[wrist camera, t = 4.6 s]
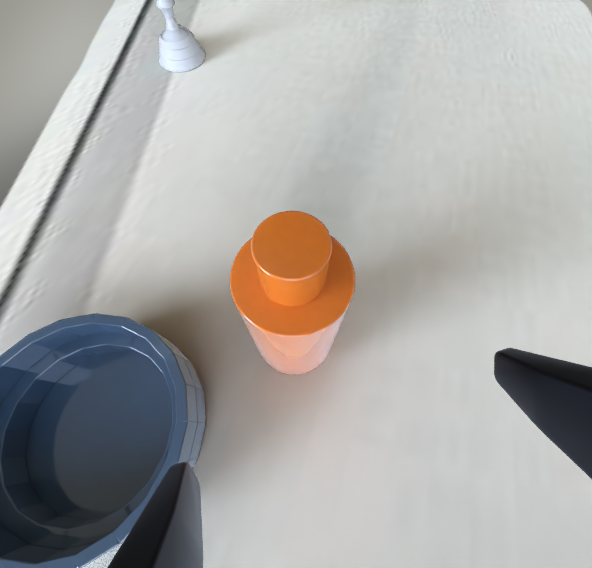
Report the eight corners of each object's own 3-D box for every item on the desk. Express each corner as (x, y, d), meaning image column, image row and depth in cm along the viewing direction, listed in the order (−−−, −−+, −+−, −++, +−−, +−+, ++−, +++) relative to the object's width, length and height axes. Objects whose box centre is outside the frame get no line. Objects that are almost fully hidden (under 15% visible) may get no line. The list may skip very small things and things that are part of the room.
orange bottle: (334, 304, 23) (369, 190, 12) (329, 379, 21) (365, 324, 10) (263, 296, 23) (232, 178, 12) (250, 369, 21) (198, 305, 10)
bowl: (225, 343, 22) (210, 326, 18) (178, 563, 17) (144, 600, 13) (60, 323, 22) (13, 303, 19) (-32, 529, 17) (-120, 557, 14)
